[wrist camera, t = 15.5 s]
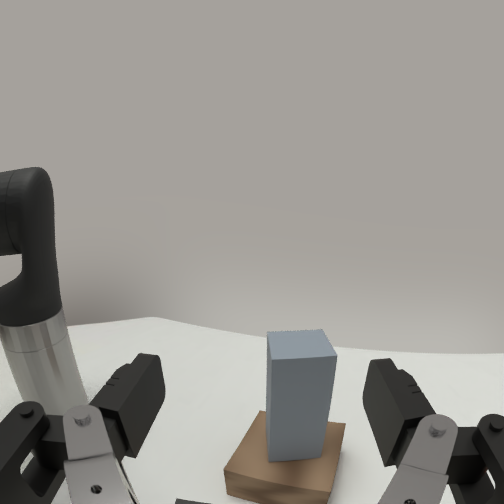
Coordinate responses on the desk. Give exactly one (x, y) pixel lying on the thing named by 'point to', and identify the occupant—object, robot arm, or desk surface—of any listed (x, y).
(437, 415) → the robot arm
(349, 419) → the desk surface
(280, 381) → the slate pillar
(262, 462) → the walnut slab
